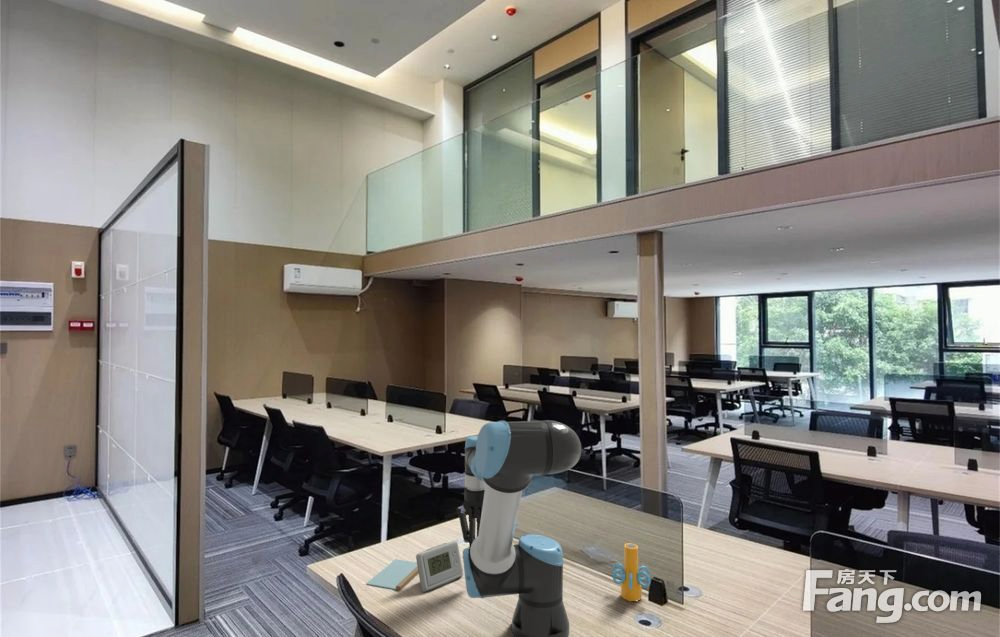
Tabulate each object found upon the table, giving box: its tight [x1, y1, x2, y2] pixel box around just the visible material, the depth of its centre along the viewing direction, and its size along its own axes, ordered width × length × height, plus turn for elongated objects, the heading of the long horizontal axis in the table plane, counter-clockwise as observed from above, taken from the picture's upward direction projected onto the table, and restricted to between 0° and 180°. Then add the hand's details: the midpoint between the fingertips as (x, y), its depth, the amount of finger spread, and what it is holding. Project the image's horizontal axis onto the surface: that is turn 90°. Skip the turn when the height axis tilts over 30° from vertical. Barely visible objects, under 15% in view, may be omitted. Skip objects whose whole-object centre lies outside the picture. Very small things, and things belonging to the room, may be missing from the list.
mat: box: [366, 558, 419, 591], centre depth 159 cm, size 12×18×1 cm, turn 162°
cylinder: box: [612, 542, 652, 602], centre depth 146 cm, size 12×10×15 cm
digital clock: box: [415, 540, 464, 592], centre depth 155 cm, size 16×9×11 cm, turn 123°
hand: (475, 564), depth 151 cm, fingers closed
